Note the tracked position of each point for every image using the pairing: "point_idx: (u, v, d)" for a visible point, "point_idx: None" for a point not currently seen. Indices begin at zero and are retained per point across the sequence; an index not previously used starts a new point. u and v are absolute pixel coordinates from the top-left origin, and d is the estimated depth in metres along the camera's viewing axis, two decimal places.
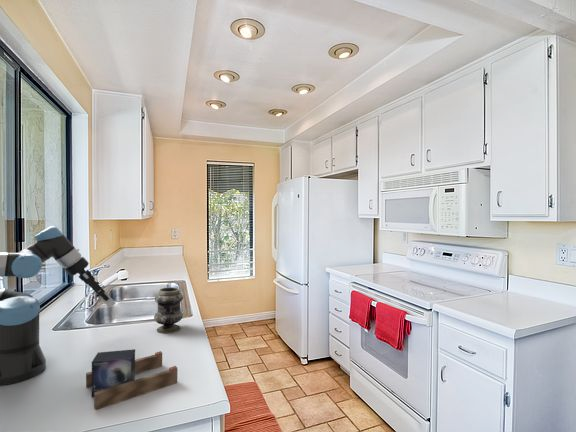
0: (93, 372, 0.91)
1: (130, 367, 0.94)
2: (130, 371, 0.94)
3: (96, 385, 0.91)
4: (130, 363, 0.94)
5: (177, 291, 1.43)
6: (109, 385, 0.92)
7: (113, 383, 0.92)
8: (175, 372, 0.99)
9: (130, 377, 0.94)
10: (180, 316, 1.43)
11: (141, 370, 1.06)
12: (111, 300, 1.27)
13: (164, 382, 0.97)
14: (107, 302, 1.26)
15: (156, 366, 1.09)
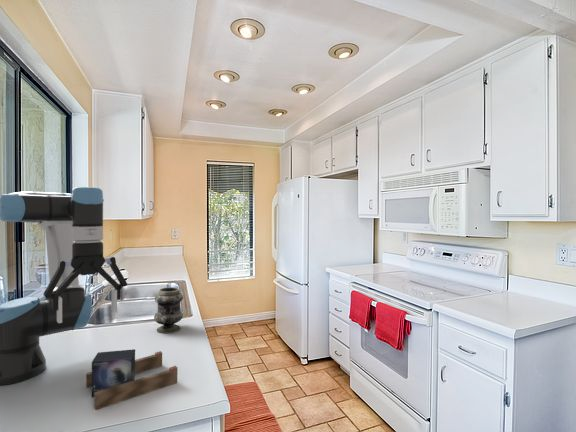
0: (93, 372, 0.91)
1: (130, 367, 0.94)
2: (130, 371, 0.94)
3: (96, 385, 0.91)
4: (130, 363, 0.94)
5: (177, 291, 1.43)
6: (109, 385, 0.92)
7: (113, 383, 0.92)
8: (175, 372, 0.99)
9: (130, 377, 0.94)
10: (180, 316, 1.43)
11: (141, 370, 1.06)
12: (58, 315, 0.86)
13: (164, 382, 0.97)
14: (57, 313, 0.87)
15: (156, 366, 1.09)
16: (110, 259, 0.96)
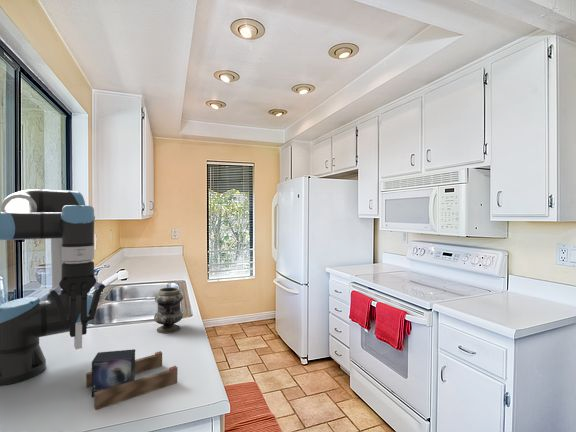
0: (93, 372, 0.91)
1: (130, 367, 0.94)
2: (130, 371, 0.94)
3: (96, 385, 0.91)
4: (130, 363, 0.94)
5: (177, 291, 1.43)
6: (109, 385, 0.92)
7: (113, 383, 0.92)
8: (175, 372, 0.99)
9: (130, 377, 0.94)
10: (180, 316, 1.43)
11: (141, 370, 1.06)
12: (75, 341, 0.88)
13: (164, 382, 0.97)
14: (74, 338, 0.89)
15: (156, 366, 1.09)
16: (100, 285, 0.92)
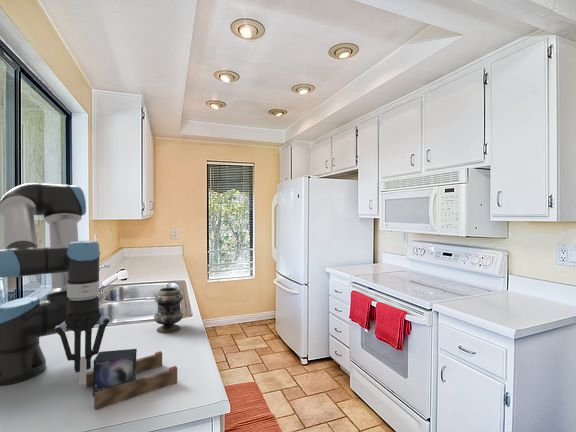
0: (95, 371, 0.91)
1: (132, 366, 0.94)
2: (132, 370, 0.94)
3: (97, 385, 0.91)
4: (132, 362, 0.94)
5: (177, 291, 1.43)
6: (110, 384, 0.92)
7: (115, 382, 0.92)
8: (175, 372, 0.99)
9: (132, 376, 0.94)
10: (180, 316, 1.43)
11: (141, 370, 1.06)
12: (80, 376, 0.89)
13: (164, 382, 0.97)
14: (79, 373, 0.90)
15: (156, 366, 1.09)
16: (104, 320, 0.93)
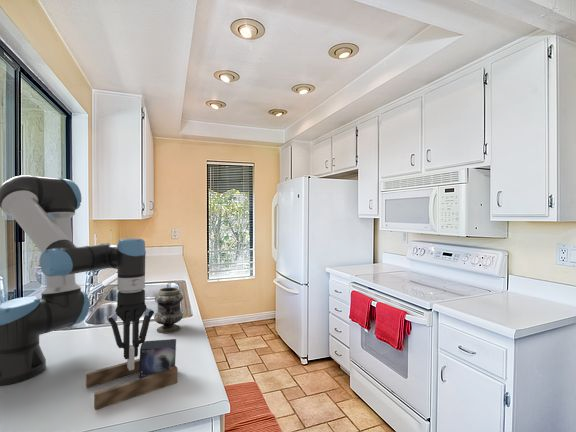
0: (141, 359, 0.99)
1: (174, 355, 1.02)
2: (174, 358, 1.02)
3: (143, 371, 0.99)
4: (174, 351, 1.02)
5: (177, 291, 1.43)
6: (154, 371, 1.00)
7: (159, 369, 1.00)
8: (175, 372, 0.99)
9: (174, 364, 1.02)
10: (180, 316, 1.43)
11: None
12: (129, 363, 0.96)
13: (164, 382, 0.97)
14: (127, 360, 0.98)
15: None
16: (149, 311, 1.00)
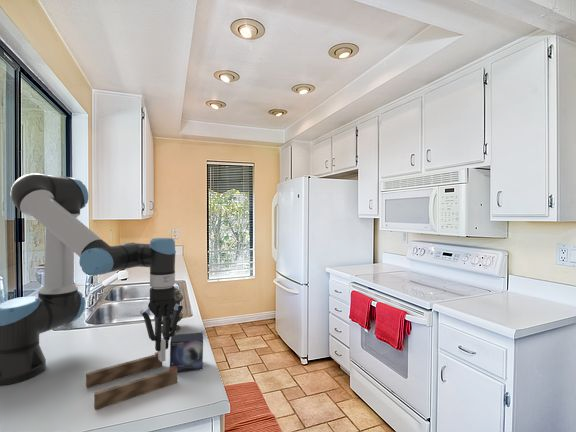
0: (171, 351, 1.05)
1: (202, 347, 1.08)
2: (202, 350, 1.08)
3: (174, 362, 1.05)
4: (202, 343, 1.08)
5: (177, 291, 1.43)
6: (184, 362, 1.06)
7: (188, 360, 1.06)
8: (175, 372, 0.99)
9: (202, 356, 1.08)
10: (180, 316, 1.43)
11: (141, 370, 1.06)
12: (160, 355, 1.03)
13: (164, 382, 0.97)
14: (158, 352, 1.04)
15: (156, 366, 1.09)
16: (179, 306, 1.06)
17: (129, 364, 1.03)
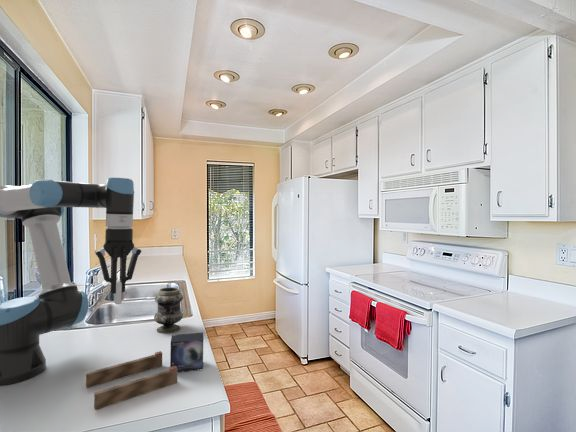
0: (172, 351, 1.05)
1: (202, 347, 1.08)
2: (202, 350, 1.08)
3: (174, 362, 1.05)
4: (202, 343, 1.08)
5: (177, 291, 1.43)
6: (184, 362, 1.06)
7: (188, 360, 1.07)
8: (175, 372, 0.99)
9: (202, 356, 1.08)
10: (180, 316, 1.43)
11: (141, 370, 1.06)
12: (115, 297, 1.00)
13: (164, 382, 0.97)
14: (114, 295, 1.01)
15: (156, 366, 1.09)
16: (137, 250, 1.04)
17: (129, 364, 1.03)
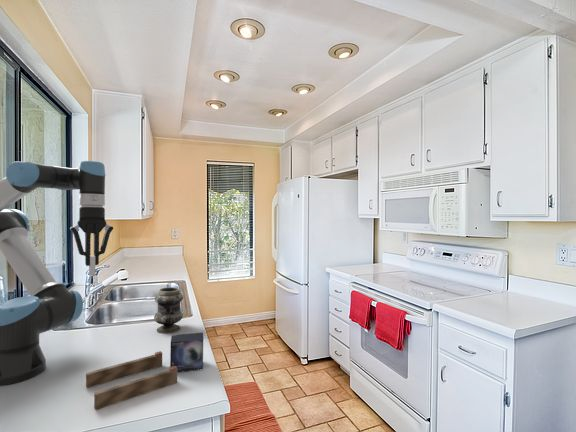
0: (172, 351, 1.05)
1: (202, 347, 1.08)
2: (202, 350, 1.08)
3: (174, 362, 1.05)
4: (202, 343, 1.08)
5: (177, 291, 1.43)
6: (184, 362, 1.06)
7: (188, 360, 1.07)
8: (175, 372, 0.99)
9: (202, 356, 1.08)
10: (180, 316, 1.43)
11: (141, 370, 1.06)
12: (90, 269, 1.11)
13: (164, 382, 0.97)
14: (89, 268, 1.12)
15: (156, 366, 1.09)
16: (109, 227, 1.15)
17: (129, 364, 1.03)
